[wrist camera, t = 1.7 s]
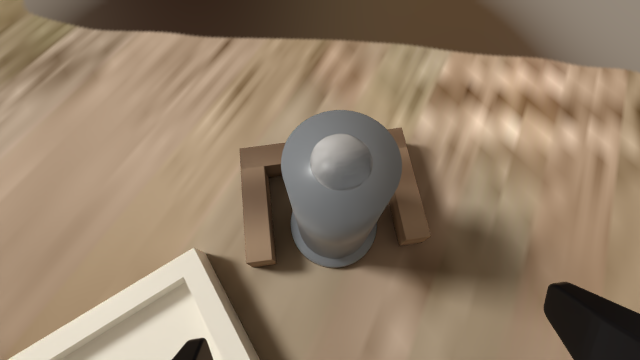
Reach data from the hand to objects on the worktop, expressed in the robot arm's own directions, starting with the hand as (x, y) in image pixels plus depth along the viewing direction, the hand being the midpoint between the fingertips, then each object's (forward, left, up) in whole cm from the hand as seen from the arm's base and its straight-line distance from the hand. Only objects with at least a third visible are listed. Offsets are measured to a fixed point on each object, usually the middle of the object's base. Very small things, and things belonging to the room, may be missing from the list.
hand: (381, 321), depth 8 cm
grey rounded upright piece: (+5, -2, -12) cm, 13 cm away
